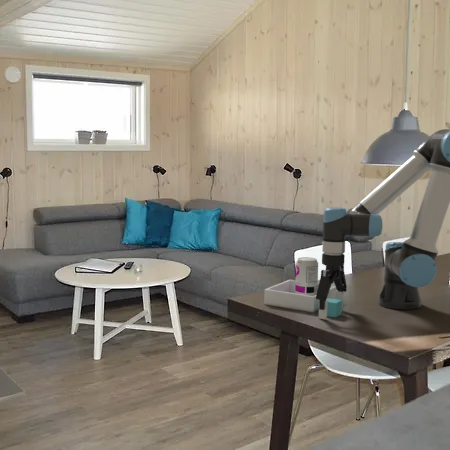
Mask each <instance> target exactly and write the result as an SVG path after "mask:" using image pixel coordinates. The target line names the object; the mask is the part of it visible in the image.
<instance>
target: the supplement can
mask: <svg viewBox="0 0 450 450" xmlns="http://www.w3.org/2000/svg"><path fill="white" fill-rule="evenodd" d="M295 280H296V281H295V294H301V295H308V296H315V295H317V291H318V284H319V262H318V260H317V258H314V257H306V256H305V257H298V258H297V261H296V262H295Z"/></svg>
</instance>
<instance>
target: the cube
mask: <svg viewBox="0 0 450 450" xmlns="http://www.w3.org/2000/svg"><path fill="white" fill-rule="evenodd" d="M326 300H328V303H327V317H330V318H337V317H339V316H340V315H342V311H343V310H342V300H337V299H331V298H328V299H326Z"/></svg>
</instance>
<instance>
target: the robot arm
mask: <svg viewBox="0 0 450 450" xmlns="http://www.w3.org/2000/svg"><path fill="white" fill-rule="evenodd" d="M427 172H431V173H430V176H429V180H428V182H427V185H426V188H425V191H424V194H423V198H422V201H421V203H420V207H419V210H418V212H417V215H416V219H415V221H414V224H413V227H412V229H411V234H410V237H409V238H407V239H406V240H403V241H390V242H387V243H386V244H385V248H384V253H385V254H384V269H383V270H384V271H383V274H384V277H383V284H382V286H381V289H380V292H379V294H378V297H377V298H378V299H377V300H378V302H377V303H378V305H380V306H382V307H385V308H388V309H394V310H416V309H419V308H421V307H422V297H421V294H420V291H419V290H420V289H419V288H421V287H422V288H423V287H425V286H427V285H429V284H431V283H432V282H433V281H434V279H435V278H436V276H437V272H438V271H437V270H438V268H437V267H438V266H437V264H436V259H437V257H438V254H439V250H438V249H437V247H436V246H437V245H436V244H437V242H438V238H439V236H440V232H441V230H442V227H443V223H444V222H445V221H444V220H445V218H446V215H447V211H448V208H449V205H450V128H449V129H448V128H445V129H440V130H437V131H435V132H434V133H432V134H431V135H429V136H428V137H427V138H426V139H425V140H424V141H423V142H422V143H421V144H419V145H418V146H417V147H416V149H414V150H413V151H412V156H411V157H409V158H408V160H406V161H405V162H404V163H403V164H402V165H401V166H399V167H398V168H397V169H396V170H395V171H394V172H392V174H390V175H389V176H388V177H387V178H385V179H384V181H382V182H381V183H380V184H379V185H378V186H377V187H375V188H374V189H373V190H372V191H371V192H370V193H368V195H366V196H365V197H364V198H363V199H362V200H360V201H359V203H357V204H356V205H355V206H354V207H353V208H348V209H347V208H344V207H339V206H333V207H332V206H331V207H329V206H328V207H326V208H324V211H323V219H322V222H323V223H322V242H321V245H322V254H321V264H322V265H324V266H325V269H321V270H320V277H319V278H320V279H319V281H318V284H319V286H318V291H317V295H316V299H318V300H319V310H318V319H321V320H328V316H327V303H328V300H326V299H327V296H328V293H329V290H330V287H331V286H332V284H333V283H334V286H336V289H337V291H336V296H335V299H337V300H342V311H344V295H345V293H347V281H346V274H345V257H346V256H345V254H344V253H345V252H346V237H351V236H352V237H370V238H372V237H380V235H381V234H382V232H383V218H382V216H381V215H380V213H382V212H383V211H384V210H386V208H387V207H388V206H390V205H391V204H392V203H393V202H394V201H395V200H396V199H398V197H400V196H401V195H402V194H404V193H405V192H406V190H408V189H409V188H410V187H411V186H413V185H414V184H415V183H416V182H417V181H418V180H420V179H421V178H422V177H423V176H424V175H425V174H426V173H427Z"/></svg>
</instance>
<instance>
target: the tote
mask: <svg viewBox="0 0 450 450" xmlns="http://www.w3.org/2000/svg"><path fill="white" fill-rule="evenodd" d="M295 281H296V279H295V280H294V279H288V280H285V281H283V282H282V281H281V282H280V283H277V284H275V285H272V286H269V287H268V288H264V299H263V301H264V303H263V304H264V305H267V306H274V307H277V308H278V307H280V308H284V309H291V310H296V311H302V312H309V313H316V312H319V300H318V299H316V295H315V296H308V295H301V294H295ZM318 286H319V283H318ZM336 291H337V289H336V286H335V285H331V287H330V290H329V293H328V296H327V299H328V298H331V299H335V296H336Z"/></svg>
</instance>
